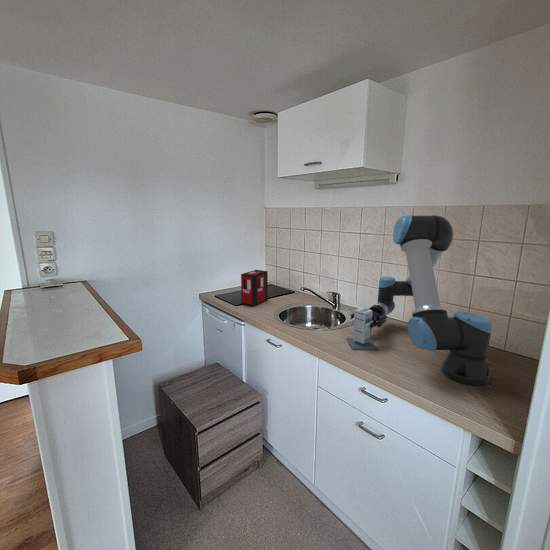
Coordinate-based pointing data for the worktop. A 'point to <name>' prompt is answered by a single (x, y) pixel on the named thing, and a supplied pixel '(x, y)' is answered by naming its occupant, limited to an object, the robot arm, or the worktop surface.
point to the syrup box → (362, 325)
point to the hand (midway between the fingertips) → (358, 325)
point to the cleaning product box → (254, 287)
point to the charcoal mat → (361, 345)
